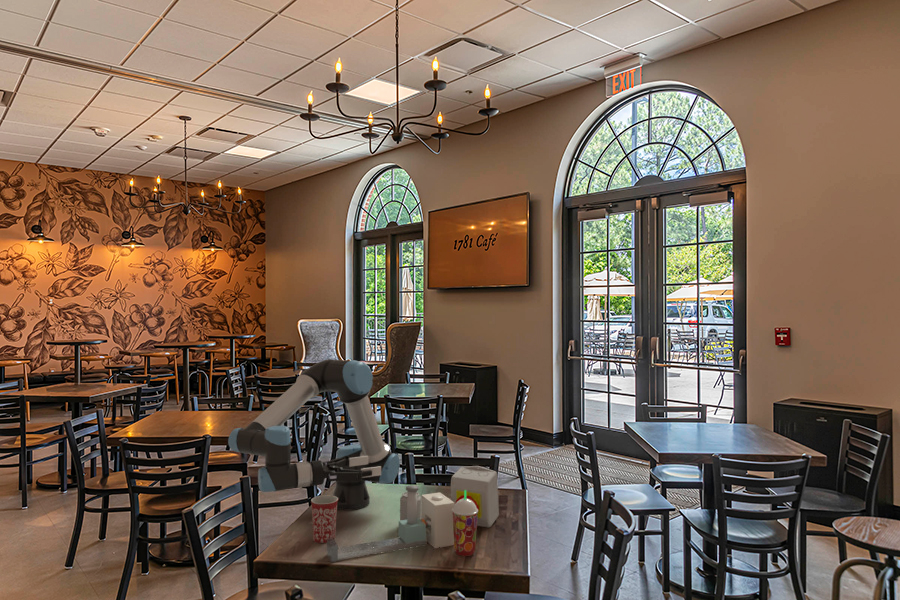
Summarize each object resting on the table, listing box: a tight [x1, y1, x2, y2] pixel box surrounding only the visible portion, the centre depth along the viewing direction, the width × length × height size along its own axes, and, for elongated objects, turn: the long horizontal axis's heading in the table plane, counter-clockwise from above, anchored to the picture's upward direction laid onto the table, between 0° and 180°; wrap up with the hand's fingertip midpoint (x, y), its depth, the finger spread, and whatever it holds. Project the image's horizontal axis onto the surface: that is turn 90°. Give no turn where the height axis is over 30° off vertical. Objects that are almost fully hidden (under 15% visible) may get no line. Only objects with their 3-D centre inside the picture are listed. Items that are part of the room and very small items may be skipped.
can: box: [399, 491, 421, 521], centre depth 214 cm, size 8×8×12 cm
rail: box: [326, 536, 428, 563], centre depth 193 cm, size 6×32×5 cm, turn 115°
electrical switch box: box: [450, 465, 500, 528], centre depth 217 cm, size 15×15×20 cm
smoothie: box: [452, 490, 478, 557], centre depth 192 cm, size 8×8×20 cm
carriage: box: [397, 484, 426, 543], centre depth 198 cm, size 7×7×17 cm
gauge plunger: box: [421, 519, 431, 528], centre depth 201 cm, size 4×9×4 cm, turn 115°
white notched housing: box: [420, 491, 455, 549], centre depth 202 cm, size 12×7×15 cm, turn 25°
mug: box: [310, 494, 338, 544], centre depth 204 cm, size 13×9×14 cm
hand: (374, 465), depth 197 cm, fingers open, 13 cm apart
